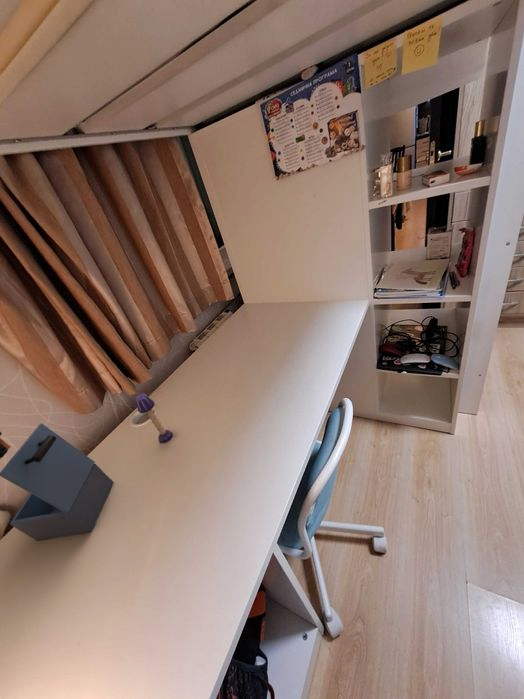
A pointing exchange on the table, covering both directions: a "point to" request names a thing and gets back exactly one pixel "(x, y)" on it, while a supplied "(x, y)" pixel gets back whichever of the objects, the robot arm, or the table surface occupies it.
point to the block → (4, 444)
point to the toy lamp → (152, 416)
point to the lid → (49, 468)
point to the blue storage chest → (52, 522)
